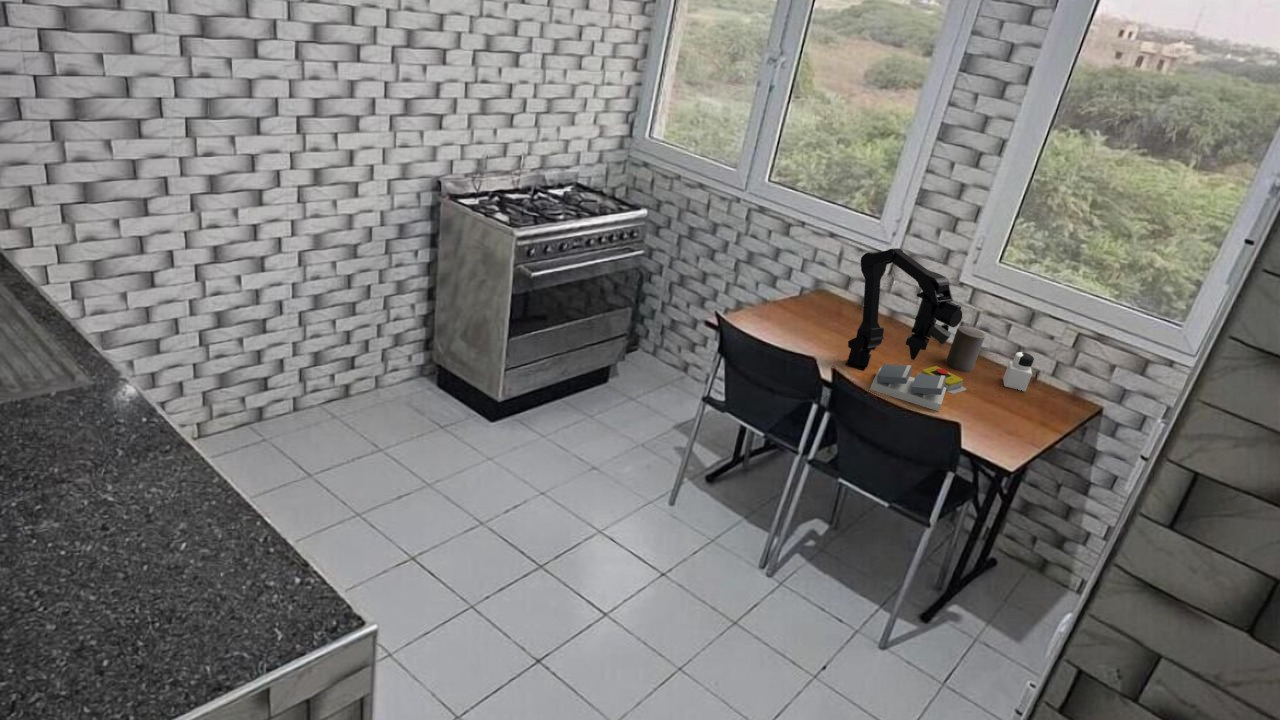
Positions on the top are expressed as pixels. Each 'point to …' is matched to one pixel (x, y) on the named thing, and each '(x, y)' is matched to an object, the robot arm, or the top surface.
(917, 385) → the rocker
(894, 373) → the block
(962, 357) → the pillar candle
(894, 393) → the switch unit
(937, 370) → the emergency button
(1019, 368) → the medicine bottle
